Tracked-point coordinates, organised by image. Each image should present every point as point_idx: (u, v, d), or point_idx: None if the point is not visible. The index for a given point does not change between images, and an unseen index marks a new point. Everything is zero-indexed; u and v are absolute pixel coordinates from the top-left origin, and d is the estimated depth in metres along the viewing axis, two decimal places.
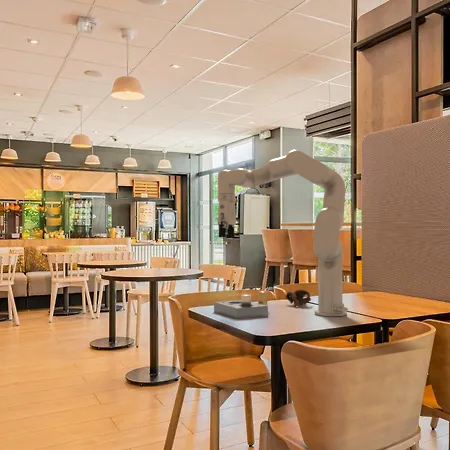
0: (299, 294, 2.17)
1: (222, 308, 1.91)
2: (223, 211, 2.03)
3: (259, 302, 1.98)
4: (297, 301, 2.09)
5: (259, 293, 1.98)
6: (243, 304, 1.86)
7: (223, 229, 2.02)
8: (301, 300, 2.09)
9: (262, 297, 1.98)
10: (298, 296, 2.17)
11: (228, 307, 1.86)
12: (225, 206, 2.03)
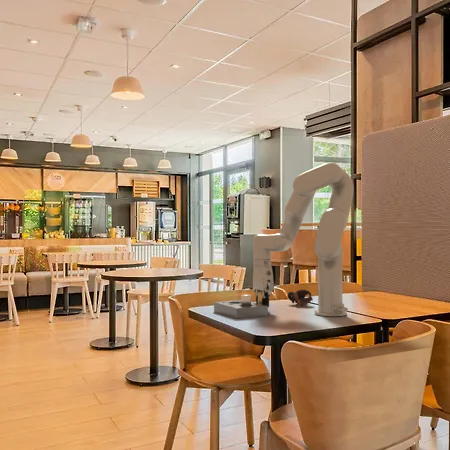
0: (301, 294, 2.17)
1: (222, 308, 1.91)
2: (270, 278, 1.96)
3: (259, 302, 1.98)
4: (299, 301, 2.10)
5: (259, 293, 1.98)
6: (243, 304, 1.86)
7: (267, 299, 1.97)
8: (303, 300, 2.09)
9: (262, 297, 1.98)
10: (300, 296, 2.18)
11: (228, 307, 1.86)
12: (271, 273, 1.96)
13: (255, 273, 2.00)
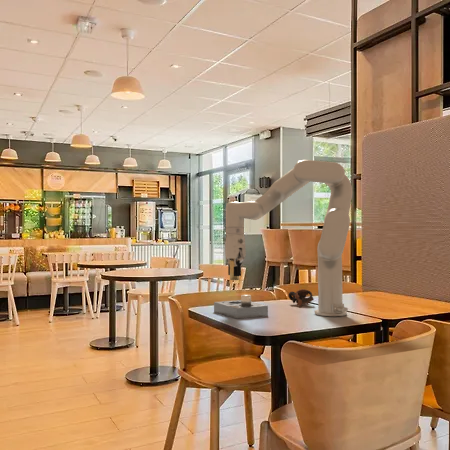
0: (301, 294, 2.18)
1: (222, 308, 1.91)
2: (241, 246, 1.92)
3: (231, 271, 1.95)
4: (300, 301, 2.10)
5: (231, 261, 1.95)
6: (243, 304, 1.86)
7: (239, 267, 1.94)
8: (304, 300, 2.10)
9: (234, 265, 1.94)
10: (300, 296, 2.18)
11: (228, 307, 1.86)
12: (243, 241, 1.93)
13: (228, 242, 1.97)
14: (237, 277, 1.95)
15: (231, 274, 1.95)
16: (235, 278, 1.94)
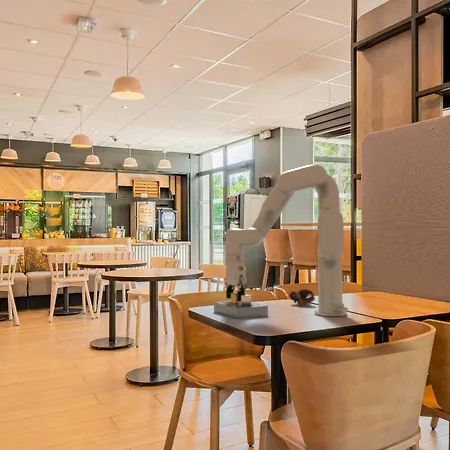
0: (303, 293, 2.19)
1: (222, 308, 1.91)
2: (242, 273, 1.92)
3: (232, 303, 1.95)
4: (301, 300, 2.11)
5: (232, 294, 1.95)
6: (243, 304, 1.86)
7: (243, 292, 1.92)
8: (305, 299, 2.11)
9: (235, 298, 1.94)
10: (302, 295, 2.19)
11: (228, 307, 1.86)
12: (243, 268, 1.93)
13: (228, 268, 1.96)
14: None
15: None
16: None
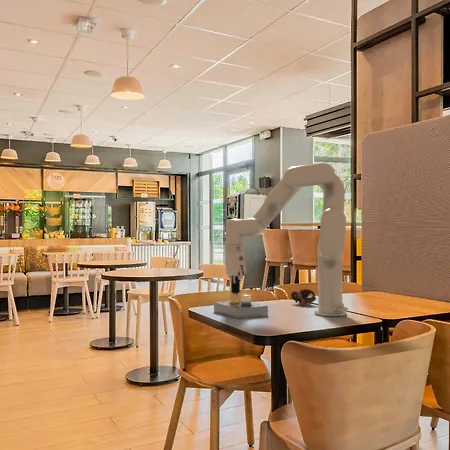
0: (304, 293, 2.19)
1: (222, 308, 1.91)
2: (242, 263, 1.92)
3: (232, 303, 1.95)
4: (303, 300, 2.12)
5: (232, 294, 1.95)
6: (243, 304, 1.86)
7: None
8: (307, 299, 2.11)
9: (235, 298, 1.94)
10: (303, 295, 2.20)
11: (228, 307, 1.86)
12: (243, 258, 1.93)
13: (228, 259, 1.96)
14: None
15: None
16: None
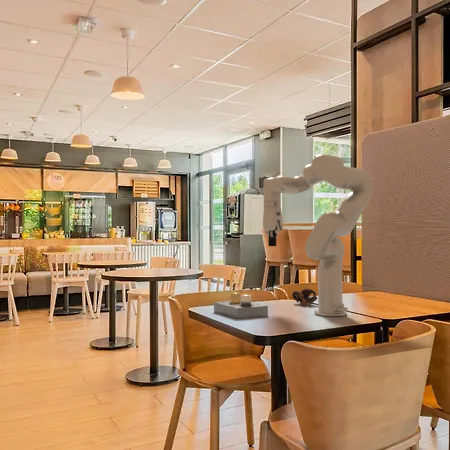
0: (305, 293, 2.20)
1: (222, 308, 1.91)
2: (279, 218, 2.09)
3: (232, 303, 1.95)
4: (304, 300, 2.13)
5: (232, 294, 1.95)
6: (243, 304, 1.86)
7: None
8: (308, 299, 2.12)
9: (235, 298, 1.94)
10: (304, 295, 2.20)
11: (228, 307, 1.86)
12: (280, 213, 2.10)
13: (265, 215, 2.14)
14: None
15: None
16: None
